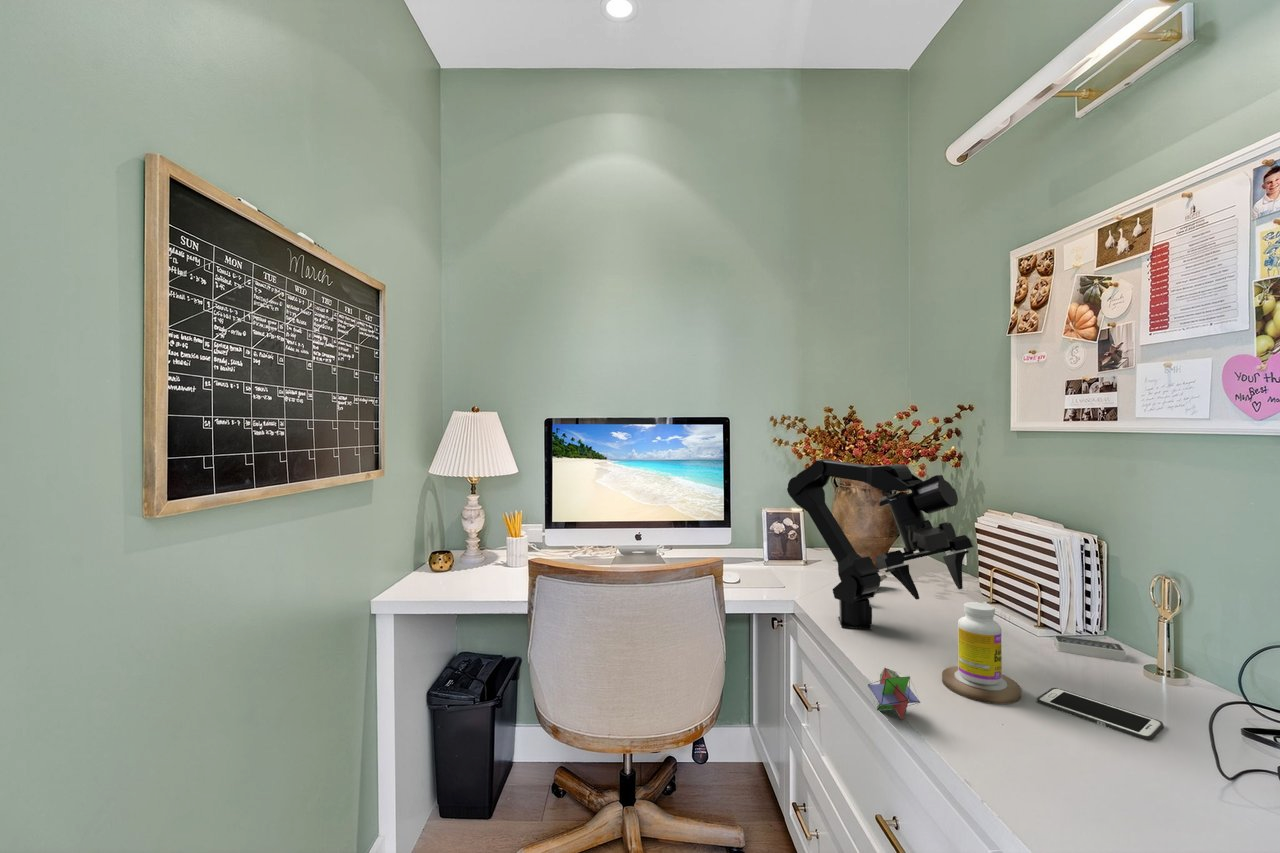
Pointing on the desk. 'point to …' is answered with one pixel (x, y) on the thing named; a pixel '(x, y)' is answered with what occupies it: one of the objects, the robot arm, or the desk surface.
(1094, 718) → the cell phone
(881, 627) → the desk surface
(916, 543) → the robot arm
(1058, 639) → the multiport hub
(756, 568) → the desk surface
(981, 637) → the supplement bottle
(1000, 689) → the brown rimmed plate
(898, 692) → the geometric puzzle
